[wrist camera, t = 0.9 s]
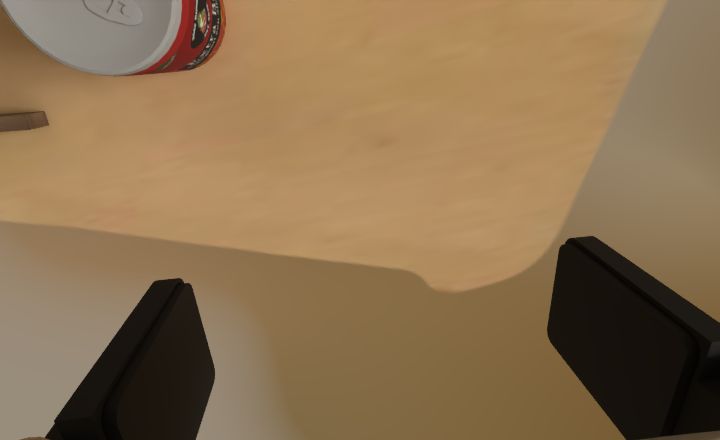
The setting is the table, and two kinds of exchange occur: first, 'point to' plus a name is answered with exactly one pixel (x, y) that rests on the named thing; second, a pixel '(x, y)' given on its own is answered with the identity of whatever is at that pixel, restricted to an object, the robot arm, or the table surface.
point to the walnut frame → (22, 121)
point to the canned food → (122, 33)
